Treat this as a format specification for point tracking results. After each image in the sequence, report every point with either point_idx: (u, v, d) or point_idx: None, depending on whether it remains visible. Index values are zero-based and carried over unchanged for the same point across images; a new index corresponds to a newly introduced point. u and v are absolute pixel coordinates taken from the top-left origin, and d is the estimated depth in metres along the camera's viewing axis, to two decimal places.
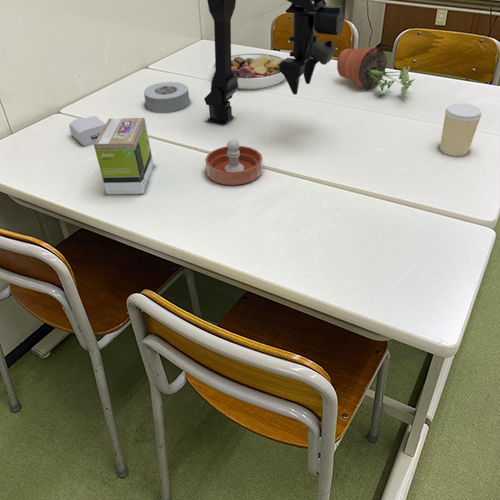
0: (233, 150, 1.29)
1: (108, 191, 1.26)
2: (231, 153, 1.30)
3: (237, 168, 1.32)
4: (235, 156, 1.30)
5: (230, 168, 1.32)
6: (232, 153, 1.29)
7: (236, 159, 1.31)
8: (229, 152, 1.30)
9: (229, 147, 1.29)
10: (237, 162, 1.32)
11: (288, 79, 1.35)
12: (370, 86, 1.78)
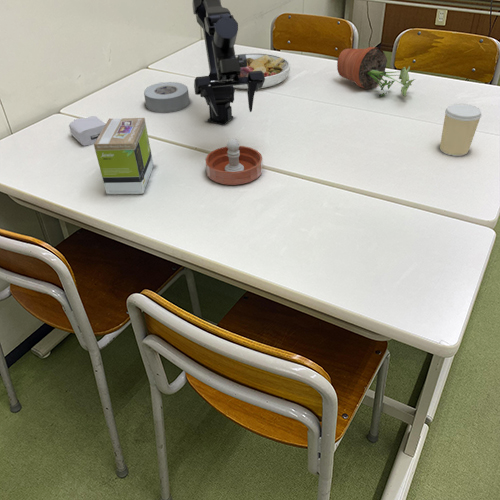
0: (233, 150, 1.29)
1: (108, 191, 1.26)
2: (231, 153, 1.30)
3: (237, 168, 1.32)
4: (235, 156, 1.30)
5: (230, 168, 1.32)
6: (232, 153, 1.29)
7: (236, 159, 1.31)
8: (229, 152, 1.30)
9: (229, 147, 1.29)
10: (237, 162, 1.32)
11: (208, 101, 1.33)
12: (370, 86, 1.78)
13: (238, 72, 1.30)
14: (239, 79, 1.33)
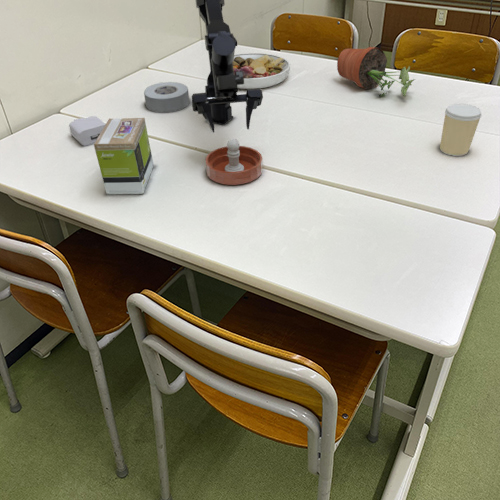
0: (233, 150, 1.29)
1: (108, 191, 1.26)
2: (231, 153, 1.30)
3: (237, 168, 1.32)
4: (235, 156, 1.30)
5: (230, 168, 1.32)
6: (232, 153, 1.29)
7: (236, 159, 1.31)
8: (229, 152, 1.30)
9: (229, 147, 1.29)
10: (237, 162, 1.32)
11: (206, 118, 1.32)
12: (370, 86, 1.78)
13: (236, 89, 1.29)
14: (237, 96, 1.31)
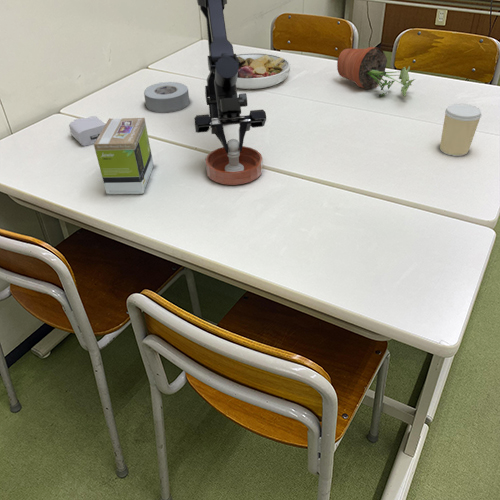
0: (233, 150, 1.29)
1: (108, 191, 1.26)
2: (231, 153, 1.30)
3: (237, 168, 1.32)
4: (235, 156, 1.30)
5: (230, 168, 1.32)
6: (232, 153, 1.29)
7: (236, 159, 1.31)
8: (229, 152, 1.30)
9: (229, 147, 1.29)
10: (237, 162, 1.32)
11: (219, 138, 1.31)
12: (370, 86, 1.78)
13: (239, 111, 1.27)
14: None
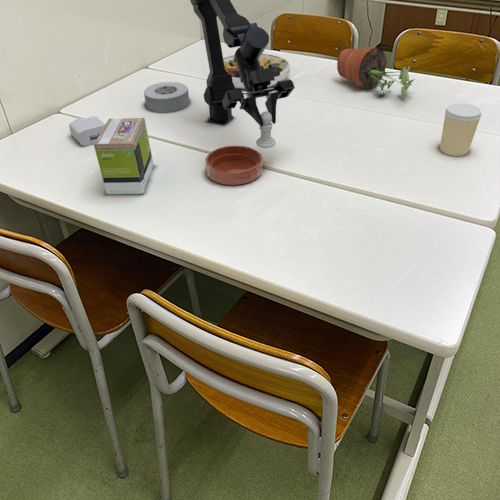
0: (267, 122, 1.27)
1: (108, 191, 1.26)
2: (265, 126, 1.28)
3: (270, 141, 1.30)
4: (269, 129, 1.28)
5: (263, 141, 1.30)
6: (266, 126, 1.28)
7: (269, 132, 1.29)
8: (263, 125, 1.28)
9: (263, 120, 1.27)
10: (270, 135, 1.30)
11: (250, 113, 1.28)
12: (370, 86, 1.78)
13: (268, 82, 1.26)
14: None
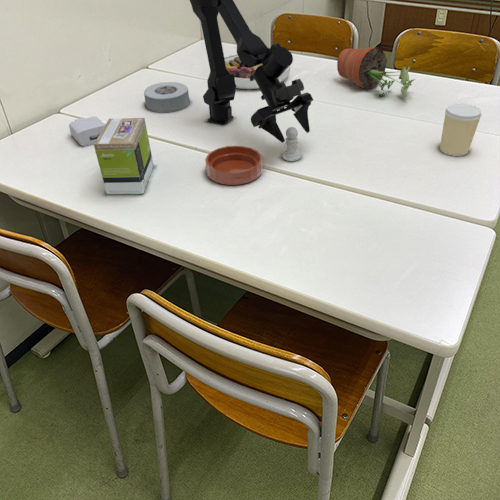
0: (294, 137, 1.35)
1: (108, 191, 1.26)
2: (293, 140, 1.35)
3: (297, 154, 1.38)
4: (296, 143, 1.36)
5: (291, 155, 1.38)
6: (293, 140, 1.35)
7: (295, 145, 1.37)
8: (290, 140, 1.35)
9: (291, 135, 1.34)
10: None
11: (269, 131, 1.33)
12: (370, 86, 1.78)
13: (292, 97, 1.33)
14: (290, 104, 1.36)
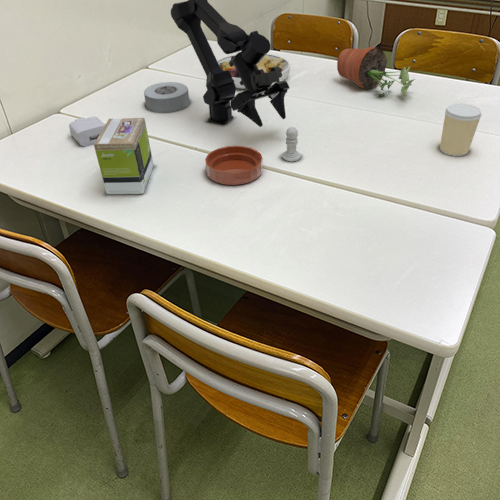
0: (294, 137, 1.35)
1: (108, 191, 1.26)
2: (293, 141, 1.35)
3: (297, 154, 1.38)
4: (296, 143, 1.36)
5: (291, 155, 1.38)
6: (294, 140, 1.35)
7: None
8: (290, 140, 1.35)
9: (291, 135, 1.34)
10: None
11: (248, 115, 1.38)
12: (370, 86, 1.78)
13: (270, 84, 1.39)
14: (267, 91, 1.41)
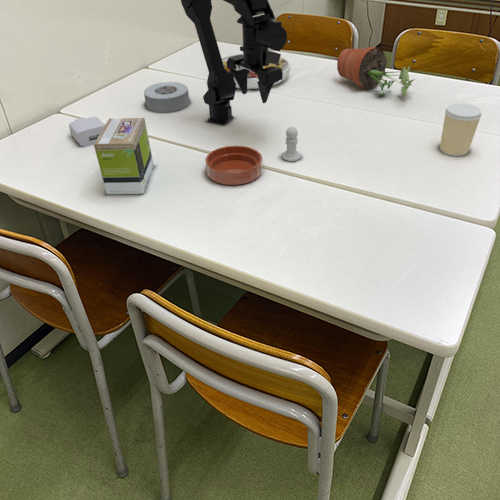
0: (294, 137, 1.35)
1: (108, 191, 1.26)
2: (292, 140, 1.35)
3: (297, 154, 1.38)
4: (296, 143, 1.36)
5: (291, 155, 1.38)
6: (293, 140, 1.35)
7: (295, 145, 1.37)
8: (290, 140, 1.35)
9: (291, 135, 1.34)
10: None
11: (263, 90, 1.37)
12: (370, 86, 1.78)
13: None
14: None
